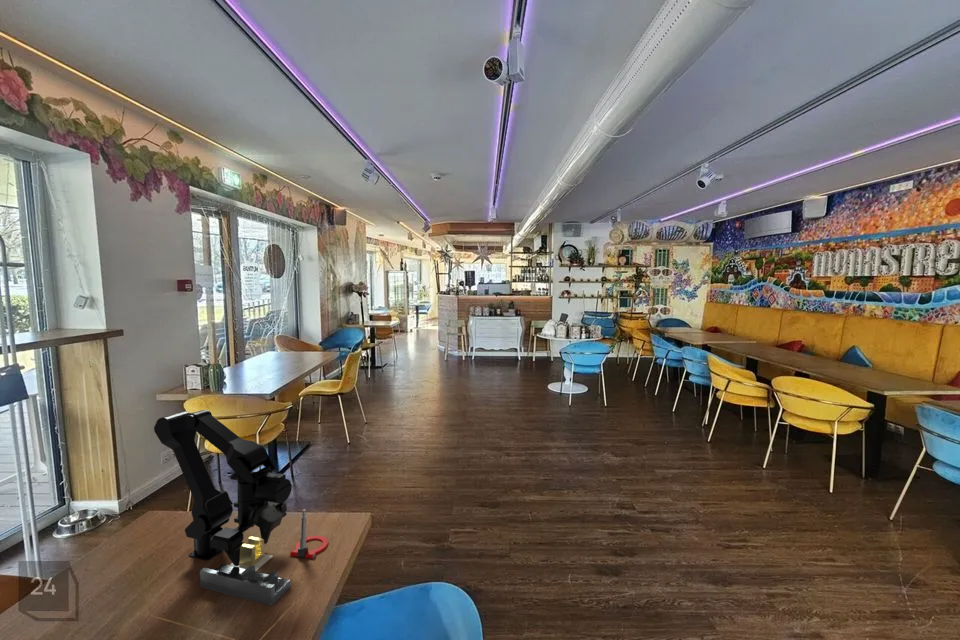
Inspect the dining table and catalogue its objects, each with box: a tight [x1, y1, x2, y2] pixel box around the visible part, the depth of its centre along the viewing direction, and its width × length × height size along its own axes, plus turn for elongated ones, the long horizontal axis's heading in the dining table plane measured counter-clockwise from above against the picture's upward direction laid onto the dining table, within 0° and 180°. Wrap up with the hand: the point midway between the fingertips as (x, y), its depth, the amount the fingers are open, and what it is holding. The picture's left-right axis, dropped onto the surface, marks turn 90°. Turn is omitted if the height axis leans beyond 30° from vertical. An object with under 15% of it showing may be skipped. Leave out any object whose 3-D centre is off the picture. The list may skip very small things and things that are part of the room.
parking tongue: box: [229, 553, 274, 572], centre depth 104 cm, size 8×6×1 cm
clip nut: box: [239, 535, 265, 566], centre depth 104 cm, size 4×4×5 cm
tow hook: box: [289, 508, 329, 560], centre depth 110 cm, size 8×13×9 cm
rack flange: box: [199, 563, 292, 607], centre depth 95 cm, size 20×6×4 cm, turn 76°
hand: (251, 554), depth 104 cm, fingers open, 9 cm apart
